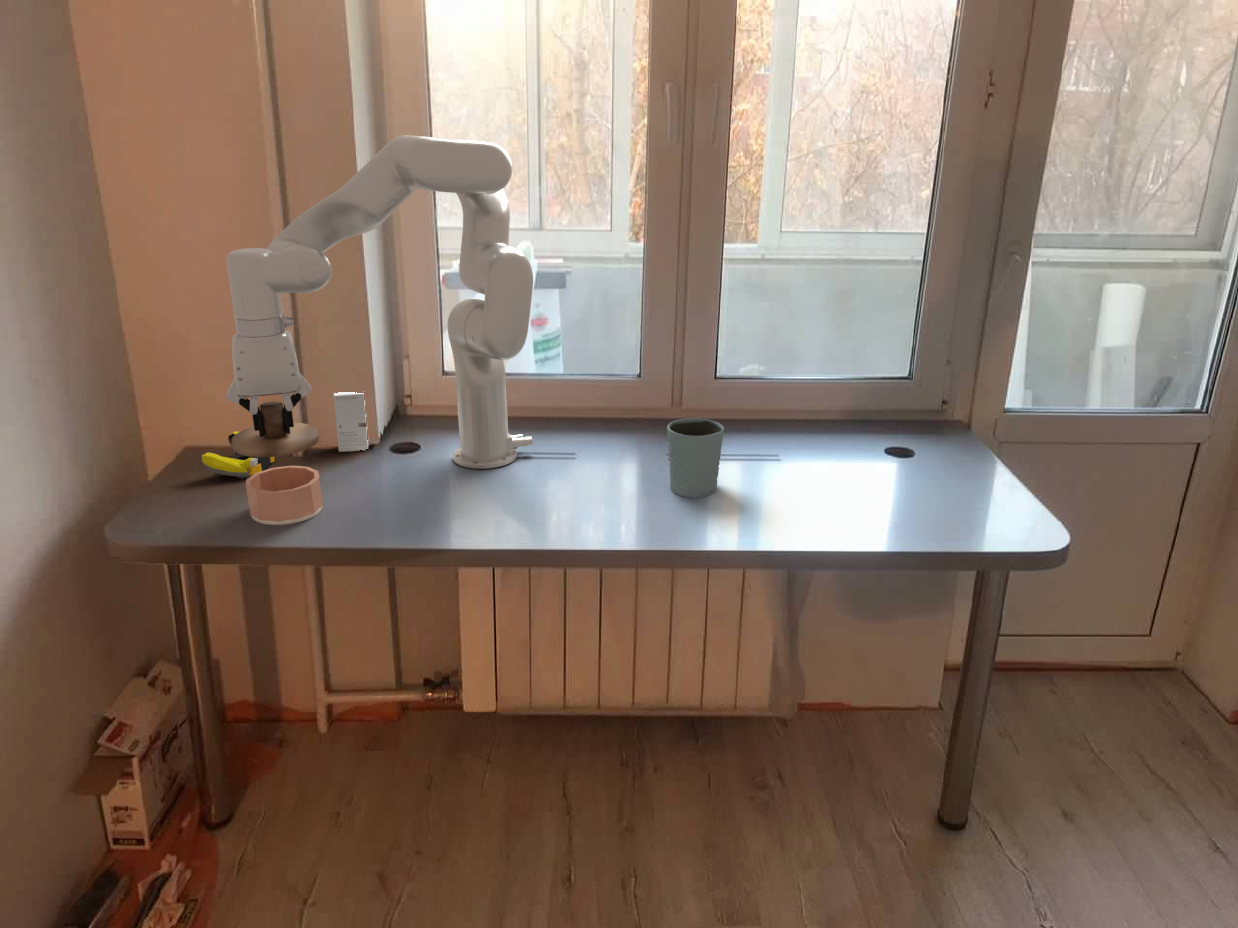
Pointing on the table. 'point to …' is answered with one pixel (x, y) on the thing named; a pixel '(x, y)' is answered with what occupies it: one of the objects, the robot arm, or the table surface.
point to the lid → (274, 435)
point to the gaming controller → (235, 463)
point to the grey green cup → (694, 456)
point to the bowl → (284, 495)
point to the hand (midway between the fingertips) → (274, 431)
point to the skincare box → (350, 421)
